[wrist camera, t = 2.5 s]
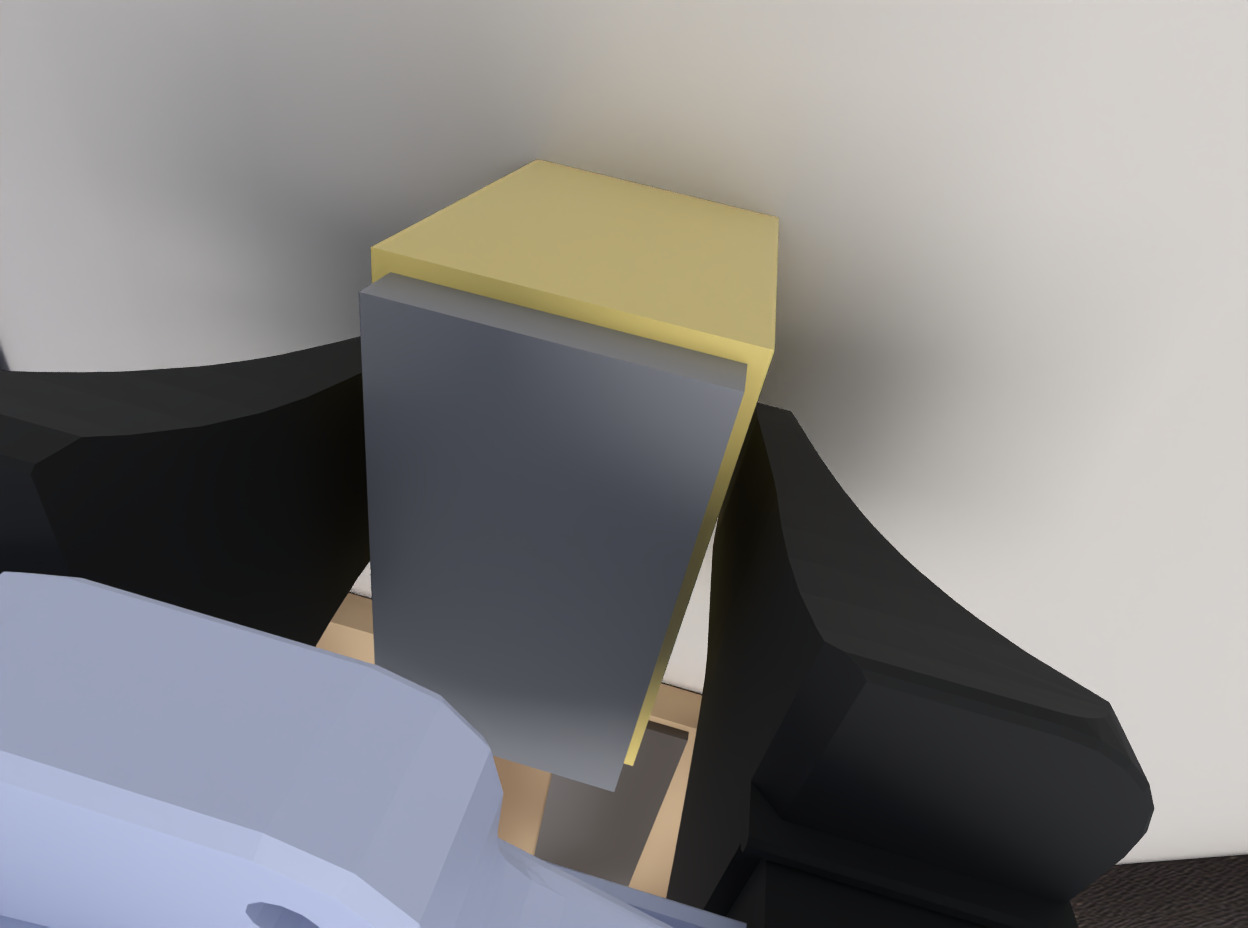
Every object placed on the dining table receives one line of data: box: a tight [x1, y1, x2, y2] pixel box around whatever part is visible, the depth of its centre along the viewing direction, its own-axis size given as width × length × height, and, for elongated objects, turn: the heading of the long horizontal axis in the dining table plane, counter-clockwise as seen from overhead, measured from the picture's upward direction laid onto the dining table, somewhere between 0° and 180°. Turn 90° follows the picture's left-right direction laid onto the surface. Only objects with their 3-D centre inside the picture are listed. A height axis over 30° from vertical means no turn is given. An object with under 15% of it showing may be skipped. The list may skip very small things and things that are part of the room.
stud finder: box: [359, 159, 779, 792], centre depth 10 cm, size 4×7×6 cm, turn 169°
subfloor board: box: [316, 593, 702, 898], centre depth 21 cm, size 20×14×1 cm
